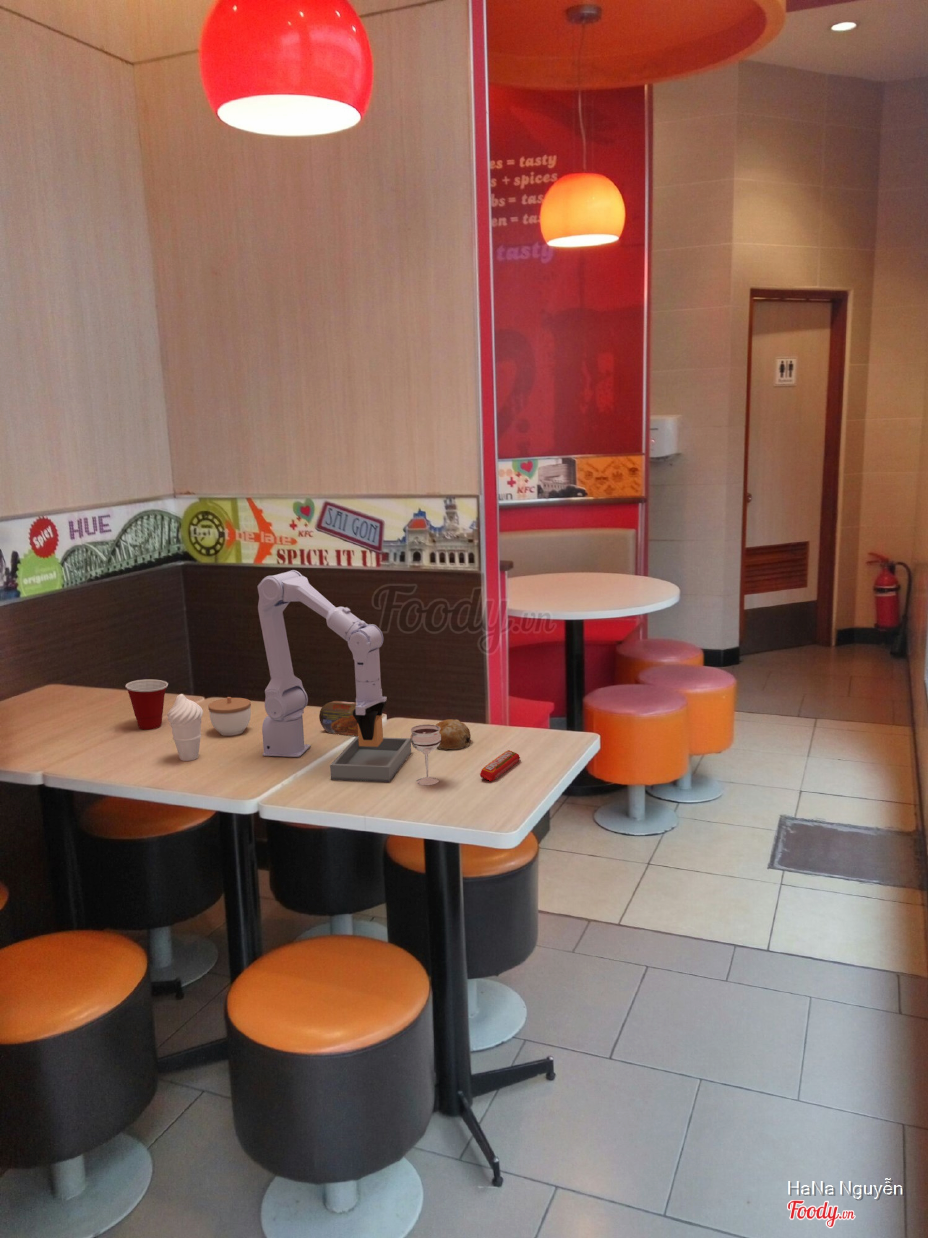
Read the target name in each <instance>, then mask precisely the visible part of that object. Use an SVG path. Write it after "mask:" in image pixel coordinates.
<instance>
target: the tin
mask: <svg viewBox="0 0 928 1238" xmlns="http://www.w3.org/2000/svg"><path fill="white" fill-rule="evenodd" d="M355 707H356V702H352V701H350V702H349V701H340V700H333V701H330V702H327V703H325V704H324V705H323V706H322V707H321V709H320V711H319V715H318V716H319V718H318V719H319V722H320V726H321V727H322V729H324V731H326V733H329V734H331V733H332V735H338V734H339V735H341V736H348V735H354V736H353V737H358V724H357V721H356V719H355V718H354V716H353V710H354V709H356V708H355ZM339 735H338V736H339Z"/></svg>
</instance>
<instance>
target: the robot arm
mask: <svg viewBox="0 0 928 1238" xmlns="http://www.w3.org/2000/svg"><path fill="white" fill-rule="evenodd" d="M257 592H258V596H259V597H258V605H257V612H258V617H259V622H260V627H261V631H262V632H261V633H262V638H263V643H264V648H265V654H266V659H267V665H268V669H269V676H270V680H269V683H268V685H267V686H266V687H265V690H264V694H265V700H264V710H265V712H266V714H267V715H266V716H265V717H264V719H263V720H262V721H263V722H262V727H261V730H262V732H261V733H262V734H261V735H262V747H263V753H262V756H265V757H285V758H286V757H289V758H300V757H301V756H302V755H303V754H305V753H306V752H307V751H308V750H309V749H310V747H311V744H307V743H305V733H304V720H303V719H304V718H303V714H304V713H305V710H304V709H305V708H306V707H307V705H308V703H309V697H308V694H307V692H306V691H305V690H306V689H305V688H304V686H303V682H302V680H301V679H300V678H298V676H296V675H295V674H294V668H293V662H292V656H291V652H290V646H289V642H288V637H287V636H288V635H287V629H286V623H285V619H284V613H283V612H284V611H285V609H286V608H287V607H288V605H289V604H290V603H291V602H300V603H301V604H303V605H305V606H307V608H309V609H311V610H312V611H314V612H315V613H317V614H318V615H320V616H321V617H323V618H324V619H326V625H327V627H328V628H329V629H330V630H332V631H333V632H334V633H336V635H338V636H339V637H341V638H342V639H343V640H344V641H346V642H347V646H348V648H349V650H350V651H351V654H352V660H353V661H354V674H355V675H354V678H355V694H356V697H355V703H356V707H355V708H356V709H354V710H353V716H354V718H355V719H356V721H357V723H358V725H359V728H360V731H361V734H362V737H363V740H372V739H373V735H374V724H375V719H376V716H377V715H382V716H383V712H384V709H385V707H386V705H387V700H388V699H387V696H383V689H382V682H381V680H382V679H381V662H380V661H381V660H380V648H381V647H382V646H383V643H384V635H383V632H382V630H381V629H380V628H379V627H378V626H377V625H376V624H373V623H372V624H371V623H369V624H368V623H366V621H364V620H361V619H360V618H359V617H357V616H356V615H355V614H353V613H352V612H351V609H350V608H349V607H348V606H346V607H344V606H338V607H336V606H335V605H333V603H332V602H330V600H328V599H327V598H326V597H325V596H324V595H322V594H321V593H320V592H319V591H318V590H317V589H316V588H315V587H313V586H312V584H310V582H309V580H308V577H306V576H304V575H303V574H301V572H299V571H297V570H295V569H292V570H288V571H286V572H281V573H278V574H274V575H267V576H264V578H262V580H261V581H260V582H259V583H258V585H257Z"/></svg>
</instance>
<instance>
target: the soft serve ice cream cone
mask: <svg viewBox="0 0 928 1238" xmlns="http://www.w3.org/2000/svg"><path fill="white" fill-rule="evenodd" d="M203 714H204V710H203V708H202V706H200V705H199V704H198V703H197V702H195V701H193V700H191V699H188V698H187V697H186V696H185V694H184V693H180V694H178V695H177V696H176V698H175V701H174V703H173V705H172V707H171V708H170V709H169V710H168V713H167V714H166V716H167V721H168V722H169V725H170V728H171V733H172V740H173V741H174V743H175V747H176V751H177V754H178V757H179V760H181V761H184V762H189V761H194V760H197V759H198V758H199V755H200V754H199V753H200V747H201V745H200V744H201V738H202V733H201V732H202V725H201V724H202V722H203V721H202V718H203Z"/></svg>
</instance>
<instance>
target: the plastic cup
mask: <svg viewBox="0 0 928 1238" xmlns="http://www.w3.org/2000/svg"><path fill="white" fill-rule="evenodd" d="M168 685H169V682H167V681H166V680H160V679H146V678H145V679H137V680H133V681H130V682H127V683H126V684H125V689H126V690H127V693H128V697H129V698H130V701H131V702H130V703H131V705H132V709H133V713H134V716H135V719H136V723H137V726H138V728H139V729H140V730H142V731H143V730H145V731H149V730H156V729H159V728H160V727H162V723H163V714H164V704H165V695H166V691H167V688H168Z"/></svg>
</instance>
